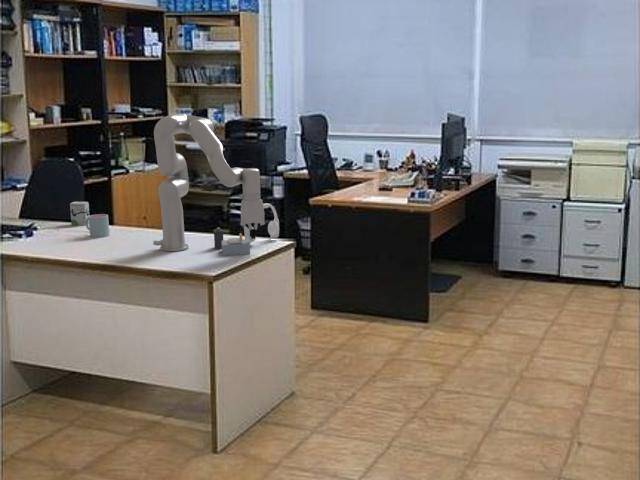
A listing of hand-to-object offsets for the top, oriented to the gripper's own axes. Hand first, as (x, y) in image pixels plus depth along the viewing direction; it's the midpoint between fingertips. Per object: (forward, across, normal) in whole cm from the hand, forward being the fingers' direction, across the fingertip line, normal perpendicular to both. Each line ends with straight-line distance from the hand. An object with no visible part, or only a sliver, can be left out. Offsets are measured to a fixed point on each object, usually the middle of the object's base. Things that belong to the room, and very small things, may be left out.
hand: (253, 238), depth 363 cm
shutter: (+1, -8, 0) cm, 8 cm away
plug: (+6, -15, +11) cm, 19 cm away
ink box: (+6, -86, +88) cm, 123 cm away
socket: (+6, -8, 0) cm, 10 cm away
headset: (+6, +5, +19) cm, 21 cm away
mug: (+6, -74, +55) cm, 92 cm away
